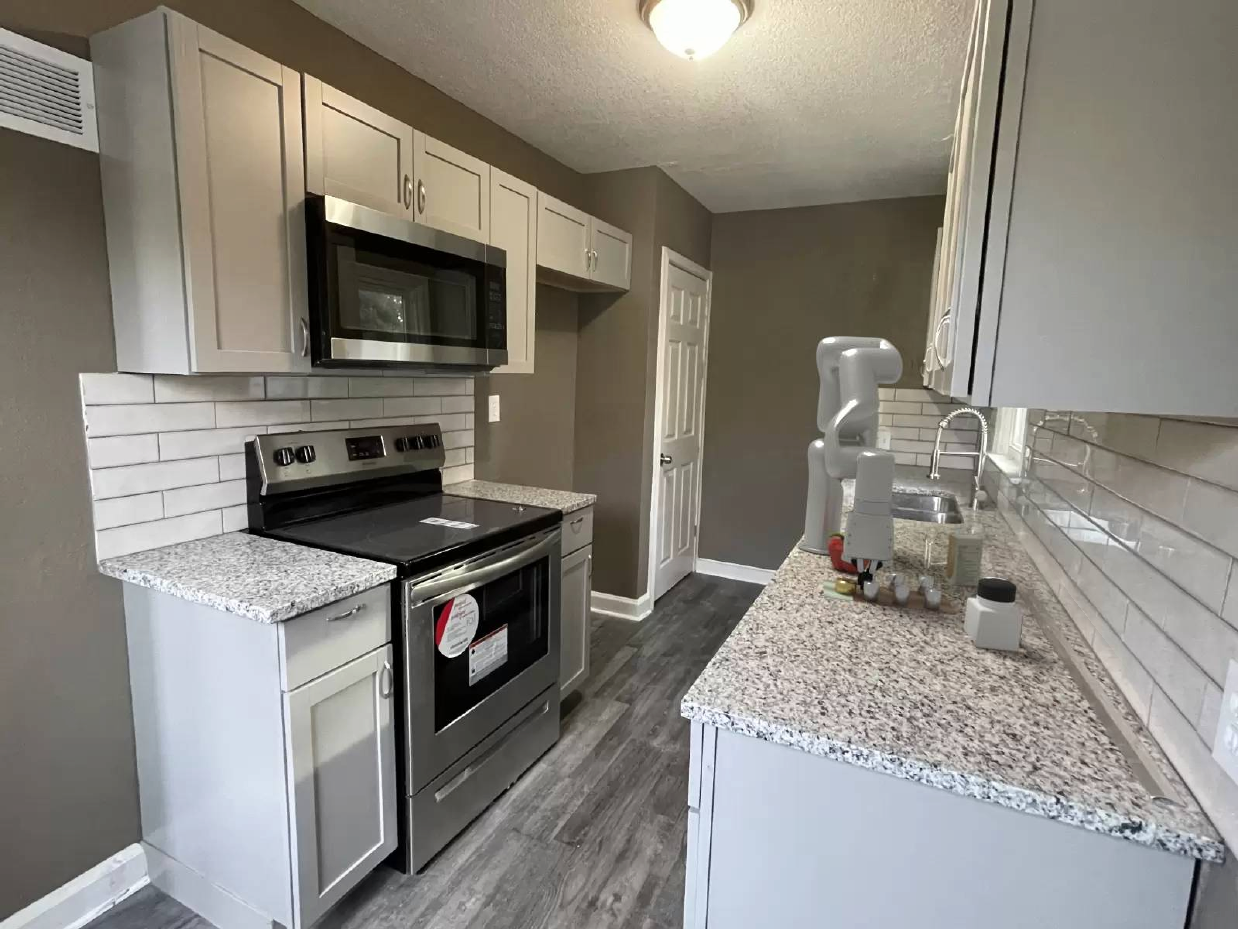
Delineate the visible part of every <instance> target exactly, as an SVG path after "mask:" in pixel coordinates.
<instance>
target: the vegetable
mask: <svg viewBox="0 0 1238 929" xmlns="http://www.w3.org/2000/svg"><path fill="white" fill-rule="evenodd" d="M833 536H838V537H840V538H838V539H836V538H835V539H832V540H830V543H829V546H828V551H829V554H830V555H829V558H830V562H831V564H832V567H833V568H834V569H835V570H837V571H840V572H841V571H842V572H844V571H845V572H847V573H850V574H858V570H857V569H856V568H855V567H854V565H853V564H852V563H849V562H846V561H843V560H842V559H841V555H842V553H843V541H844V534H842V533H841V532H840V533H832V534H830V535H829V537H831V538H832V537H833ZM869 563H870V560H867V559H863V567H864V569H865V568H866V569H867V568H868V567H867V566H869Z"/></svg>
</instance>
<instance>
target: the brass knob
mask: <svg viewBox="0 0 1238 929" xmlns="http://www.w3.org/2000/svg"><path fill="white" fill-rule="evenodd" d="M834 581H835V592H837V593H839V594H842V595H855V594H856V588H857V581H856V580H855V579H853V578H852V579H851V578H847V577H837V578H835V580H834Z"/></svg>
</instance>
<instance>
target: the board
mask: <svg viewBox="0 0 1238 929" xmlns="http://www.w3.org/2000/svg"><path fill="white" fill-rule="evenodd" d="M822 581H823V584H822V585H823V597H824V598H829V599H836V600H843V601H844V600H845V601H848V602H849V601H851V602H858V603H865V604H873V605H880V606H887V607H894V608H895V607H896V608H901V609H910V610H917V611H925V612H932V613H939V614H947V615H952V616H953V615H954V616H958V614H957V612H956V610H955V609H954V608H953V606H952V604H951V602H950V600H949V598H948V597H947V595H946V594H942V593H941V600H940V609H939V611H931V610H927V609H925V608H924V607H923V606H924V597H923V596H920V595H918V594H917V591H918V590H911V589H910V592H909V601H908V606H907V607H901V606H897V605H894V604H893V594H894V593H893V592H890V591H889V590H888V587H889V586H887V587H885V586H881V585H879V591H878V601H877V602H875V603H872V602H867V601H864V600H863V590H861V589H860V585H857V588H856V594H855V595H842V594H839V593H837V592H835V580H832V579H823V580H822Z"/></svg>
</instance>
